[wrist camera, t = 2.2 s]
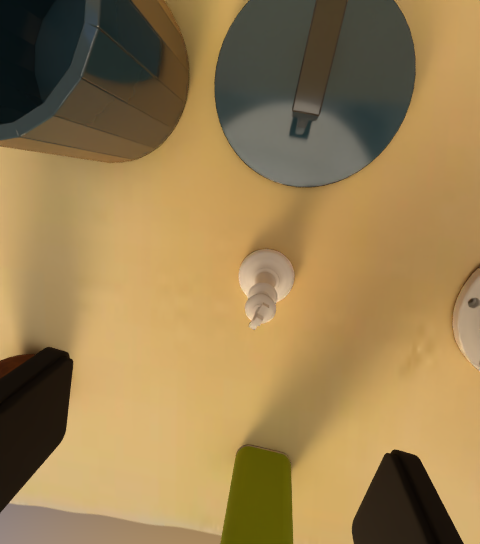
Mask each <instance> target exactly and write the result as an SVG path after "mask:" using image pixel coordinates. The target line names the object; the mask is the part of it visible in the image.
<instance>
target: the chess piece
mask: <svg viewBox="0 0 480 544" xmlns="http://www.w3.org/2000/svg"><path fill="white" fill-rule="evenodd" d="M294 277H295V275H294V269H293V266H292V264H291V262H290V261H289V259H288V258H287V257H286V256H285V255H283V254H282V253H280V252H278V251H276V250H272V249H261V250H257V251H254V252H252V253H251V254H249V255H248V256H247V257H246V258H245V259H244V260H243V262H242V264H241V266H240V269H239V283H240V286H241V289H242V291H243V292H244V293H245V295H246V296H247V297H248V300H247V302H246V304H245V312H246V315H247V317H248V318H249V319H250V320H251V322H250V323H249V327H250V328H252V329H253V330H255V329H256V327H257V326H260V325H261V323H266V322H269V321H270V320H271V319H272V318H273V317H274V315H275V313H276V305H275V304H276V302H278V301H280V300H282V299H283V298H285V297H286V296H287V295H288V294H289V292H290V291H291V289H292V286H293V283H294Z"/></svg>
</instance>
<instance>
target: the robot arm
mask: <svg viewBox="0 0 480 544" xmlns="http://www.w3.org/2000/svg"><path fill="white" fill-rule="evenodd" d="M453 331H454V336H455V340H456V342H457V344H458V347H459V349H460V351H461V352H462V353H463V355H464V356H465V357H466V359H467V360H468V361H469V362H470V363H471V364H472V365H473V366H474V367H475V368H476V369H478V370H479V371H480V267H479V268H478V269H477V270H476V271H475V272H474V273H473V274H472V275H471V276H470V278H469V279H468V280H467V282H466V283H465V284H464V286H463V287H462V289H461V291H460V294H459V296H458V298H457V300H456V303H455V307H454V311H453ZM72 370H73V360H72V359H70V358H69V353H68V352H65V351H62V350H58V349H55V348H52V347H47V348H45V349H43V350H42V351H40V352H39V353H37V354H36V355H34V356H33V357H31V358H30V359H28V360H27V361H25V362H24V363H22V364H21V365H20V366H18V367H17V368H15V369H14V370H12V371H11V372H9V373H8V374H6V375H5V376H3V377H2V378H0V512H1V511H2V510H3V509H4V508H5V507H6V505H7V504H8V503H9V502H10V501H11V500H12V499H13V497H14V496H15V495H16V494H17V493H18V492H19V490H20V489H21V488H22V487H23V486H24V485H25V483H26V482H27V481H28V480H29V479H30V478H31V476H32V475H33V474H34V473H35V472H36V471H37V470H38V468H39V467H40V466H41V465H42V464H43V463H44V461H45V460H46V459H47V458H48V457H49V456H50V454H51V453H52V452H53V451H54V450H55V449H56V447H57V446H58V445H59V444H60V443H61V441H62V439H63V437H64V435H65V432H66V425H67V416H68V407H69V398H70V388H71V379H72ZM352 535H353V541H354V544H464V543H463V542H462V540H461V538H460V536H459V534H458V532H457V530H456V528H455V526H454V524H453V522H452V520H451V518H450V516H449V515H448V513H447V511H446V509H445V507H444V505H443V503H442V501H441V499H440V497H439V495H438V493H437V491H436V489H435V487H434V486H433V484H432V482H431V480H430V478H429V476H428V474H427V472H426V470H425V468H424V466H423V464H422V462H421V460H420V459H419V458H418V457H417V456H416V455H413V454H410V453H406V452H403V451H399V450H393V451H392V452H391V453H386V454H385V455H384V457H383V459H382V461H381V463H380V465H379V467H378V470H377V472H376V474H375V476H374V478H373V480H372V482H371V484H370V486H369V488H368V490H367V493H366V495H365V497H364V499H363V501H362V503H361V505H360V507H359V509H358V511H357V513H356V516H355V518H354V520H353V524H352Z"/></svg>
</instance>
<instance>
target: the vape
mask: <svg viewBox="0 0 480 544" xmlns="http://www.w3.org/2000/svg"><path fill="white" fill-rule="evenodd" d="M220 544H293V521H292V486H291V462H290V459H289V457H288V456H287V455H286V454H284V453H282V452H278V451H273V450H269V449H265V448H261V447H256V446H252V445H245V446H243V447H241V448H240V449H239V450H238V452H237V454H236V458H235V464H234V469H233V475H232V481H231V486H230V492H229V498H228V503H227V509H226V515H225V520H224V526H223V532H222V538H221V543H220Z"/></svg>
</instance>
